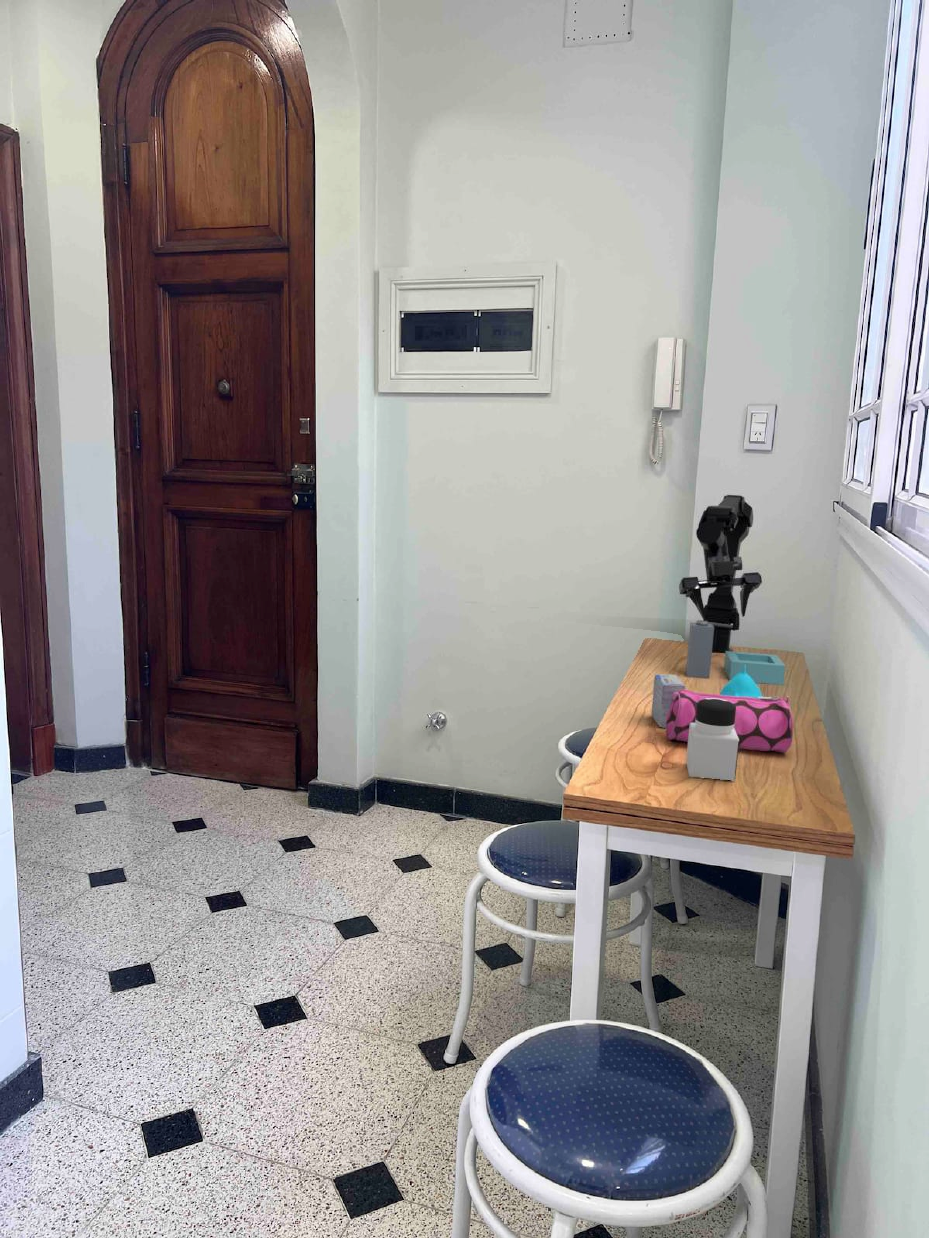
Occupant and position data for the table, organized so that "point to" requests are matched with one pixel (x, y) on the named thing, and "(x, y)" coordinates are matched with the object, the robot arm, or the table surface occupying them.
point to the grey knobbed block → (699, 649)
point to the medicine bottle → (713, 741)
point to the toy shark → (742, 686)
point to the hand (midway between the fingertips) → (723, 617)
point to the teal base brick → (755, 666)
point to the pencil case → (738, 719)
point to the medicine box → (664, 696)
